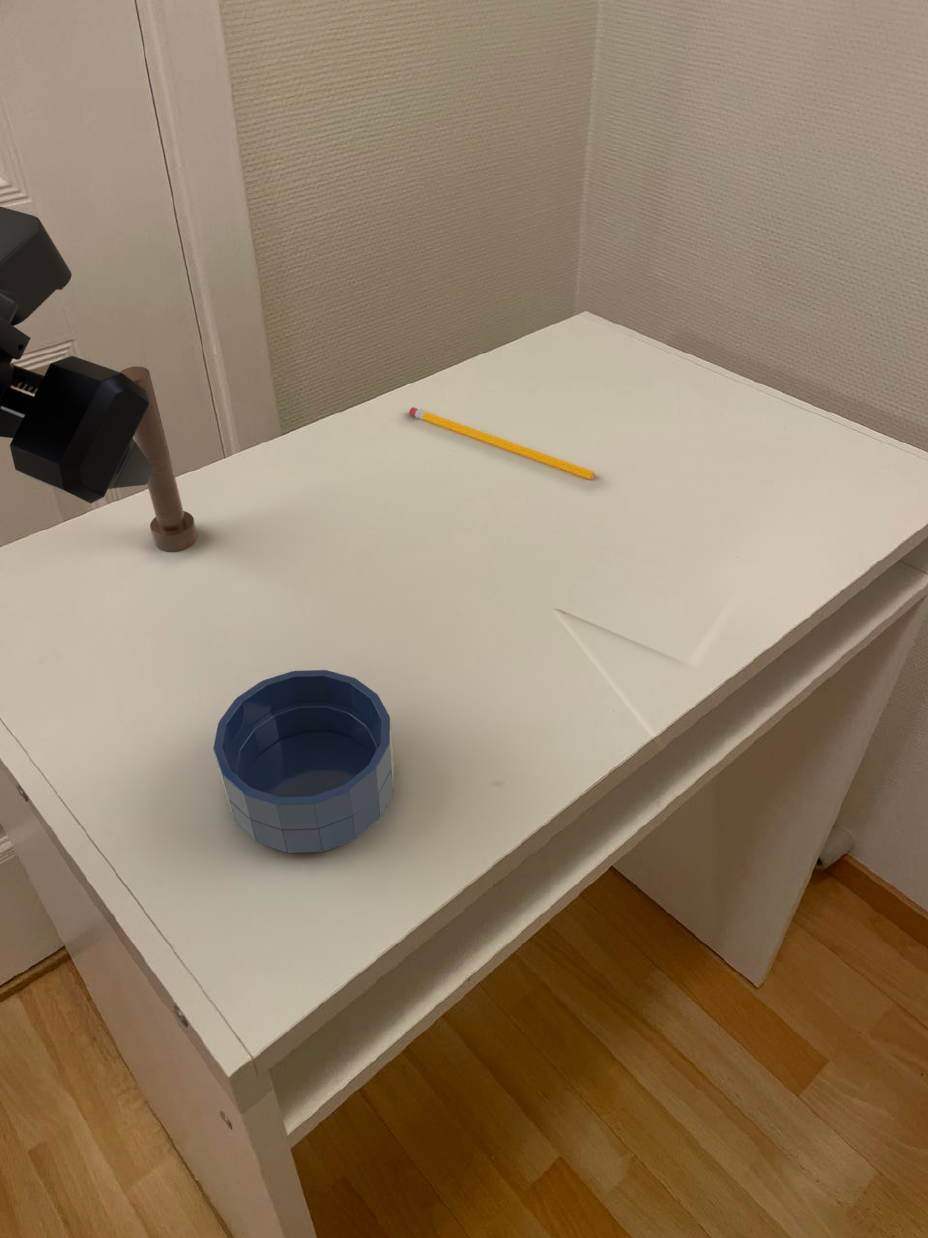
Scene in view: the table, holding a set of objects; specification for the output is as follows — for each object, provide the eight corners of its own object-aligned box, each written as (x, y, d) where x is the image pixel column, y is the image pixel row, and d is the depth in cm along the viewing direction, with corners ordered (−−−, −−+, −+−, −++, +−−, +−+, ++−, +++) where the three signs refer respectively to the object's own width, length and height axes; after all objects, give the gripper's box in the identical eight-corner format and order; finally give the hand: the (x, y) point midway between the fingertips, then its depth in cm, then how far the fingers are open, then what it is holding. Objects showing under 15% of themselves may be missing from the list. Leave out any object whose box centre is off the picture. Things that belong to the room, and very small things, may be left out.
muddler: (159, 556, 70) (113, 389, 60) (150, 532, 72) (104, 367, 62) (202, 545, 71) (163, 379, 61) (192, 521, 73) (153, 357, 63)
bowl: (256, 884, 50) (241, 830, 46) (211, 757, 56) (196, 700, 53) (419, 822, 53) (416, 766, 49) (360, 707, 59) (354, 651, 56)
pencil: (414, 412, 85) (413, 405, 84) (594, 477, 78) (595, 470, 77) (408, 416, 84) (408, 409, 84) (589, 482, 77) (590, 475, 77)
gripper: (84, 195, 39) (272, 372, 53) (-192, 124, 45) (41, 297, 60) (-38, 438, 38) (187, 551, 52) (-301, 328, 44) (-38, 454, 59)
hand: (90, 453), depth 56 cm, fingers open, 9 cm apart
